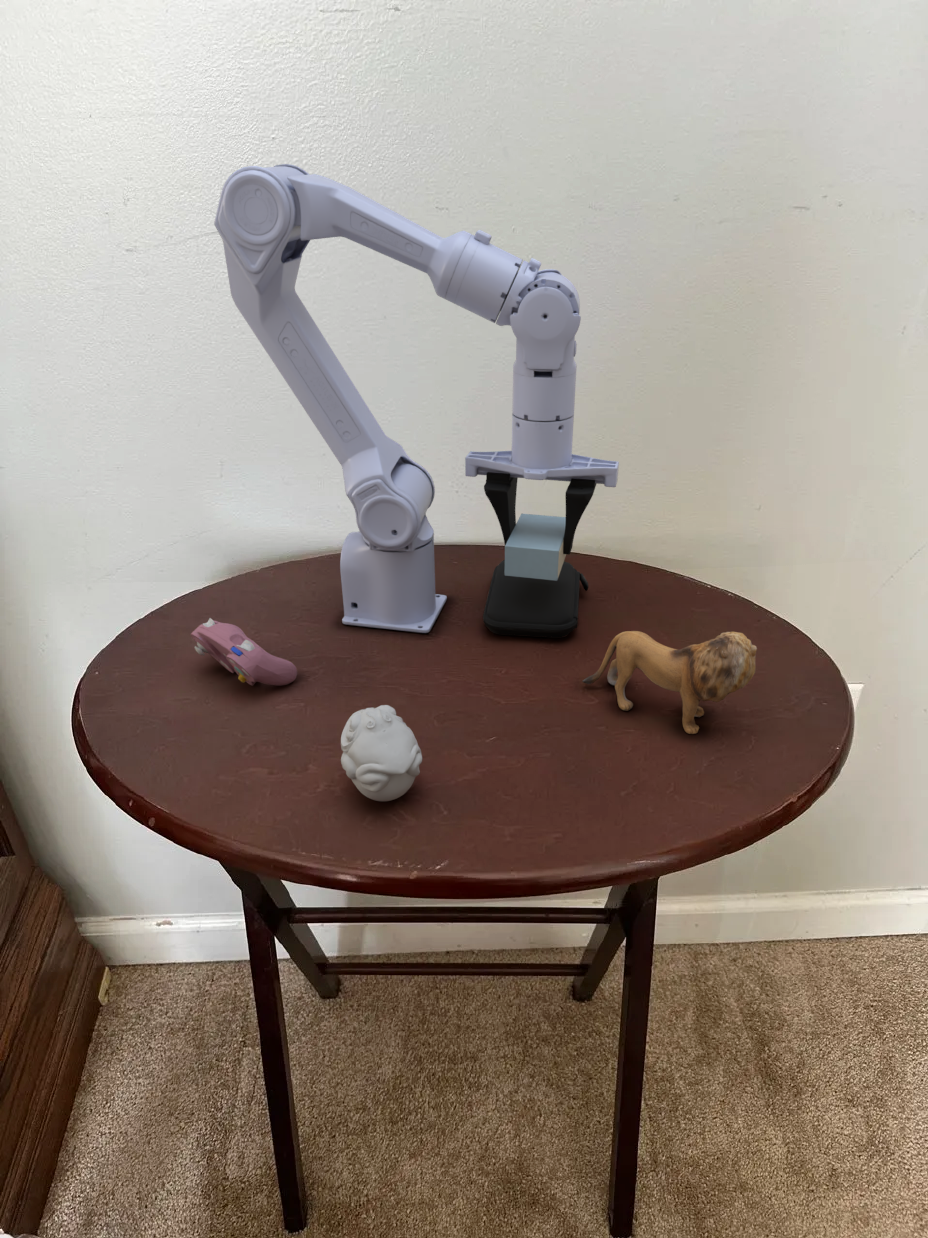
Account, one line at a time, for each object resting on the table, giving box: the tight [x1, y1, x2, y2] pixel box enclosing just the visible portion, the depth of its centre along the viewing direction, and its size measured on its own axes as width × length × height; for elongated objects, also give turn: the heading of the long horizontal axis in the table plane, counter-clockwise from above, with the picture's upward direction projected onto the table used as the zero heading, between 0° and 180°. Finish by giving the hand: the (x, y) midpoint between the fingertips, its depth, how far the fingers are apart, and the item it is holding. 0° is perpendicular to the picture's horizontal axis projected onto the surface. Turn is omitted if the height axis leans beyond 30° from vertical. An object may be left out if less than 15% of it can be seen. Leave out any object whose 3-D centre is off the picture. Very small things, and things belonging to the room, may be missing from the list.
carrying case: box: [482, 559, 589, 639], centre depth 91 cm, size 11×3×15 cm
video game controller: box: [190, 617, 298, 687], centre depth 79 cm, size 10×5×7 cm, turn 47°
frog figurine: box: [340, 704, 423, 802], centre depth 64 cm, size 6×7×7 cm
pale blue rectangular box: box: [504, 513, 567, 581], centre depth 85 cm, size 5×8×3 cm, turn 166°
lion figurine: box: [581, 630, 758, 735], centre depth 73 cm, size 15×5×9 cm, turn 62°
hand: (538, 547), depth 85 cm, fingers closed on pale blue rectangular box, 5 cm apart
